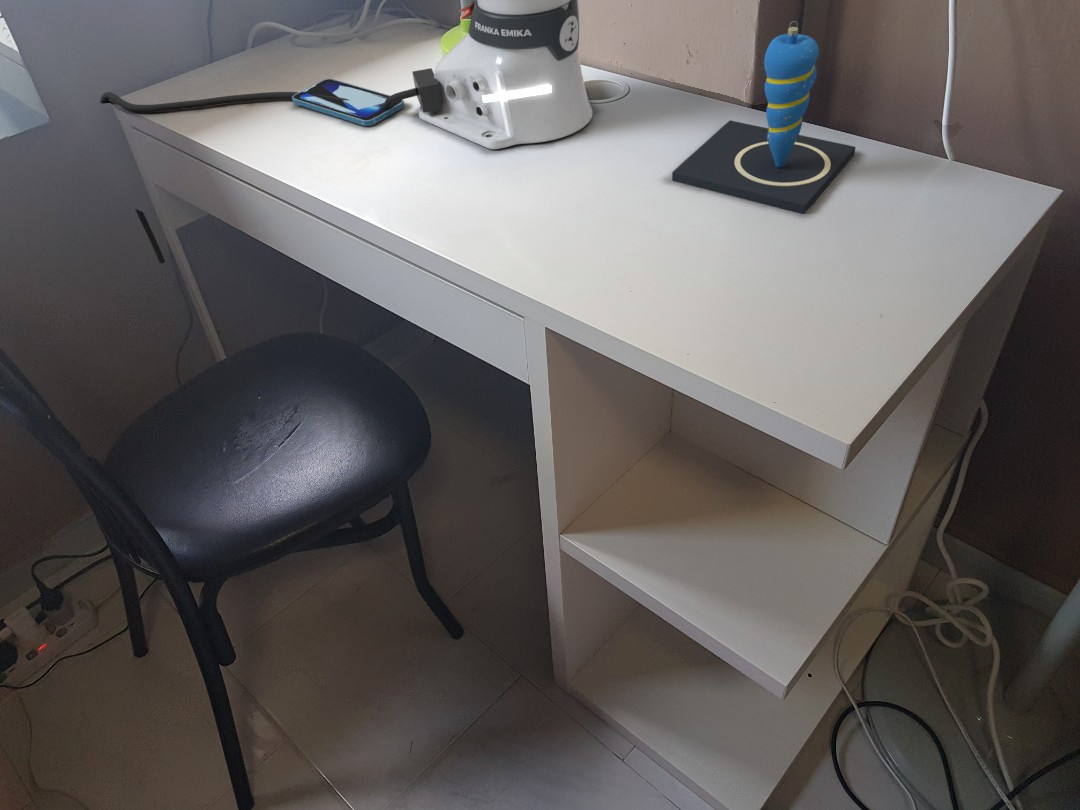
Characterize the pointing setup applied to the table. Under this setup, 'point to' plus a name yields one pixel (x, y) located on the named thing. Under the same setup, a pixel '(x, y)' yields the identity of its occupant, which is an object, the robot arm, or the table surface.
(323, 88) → the smartphone
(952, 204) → the table surface
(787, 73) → the ornament
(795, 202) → the mat
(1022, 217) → the table surface
